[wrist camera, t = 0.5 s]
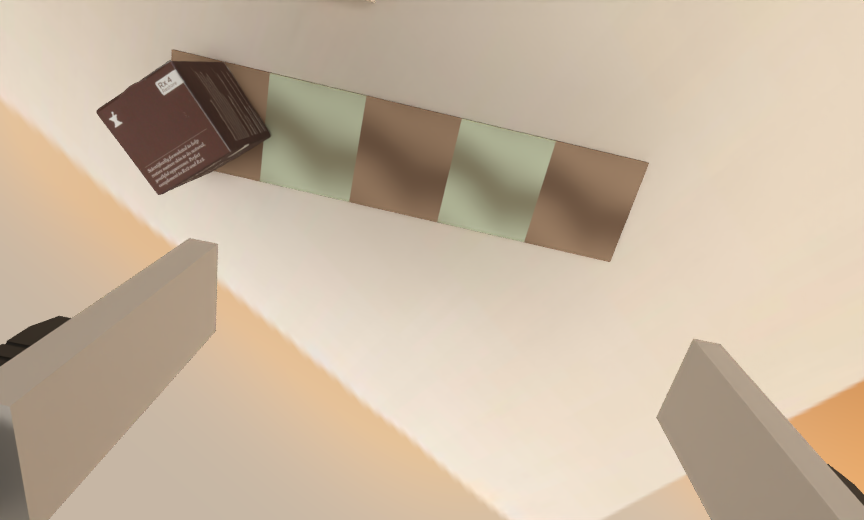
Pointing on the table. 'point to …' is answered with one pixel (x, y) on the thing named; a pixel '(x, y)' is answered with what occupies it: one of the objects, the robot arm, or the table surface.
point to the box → (183, 122)
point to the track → (434, 165)
